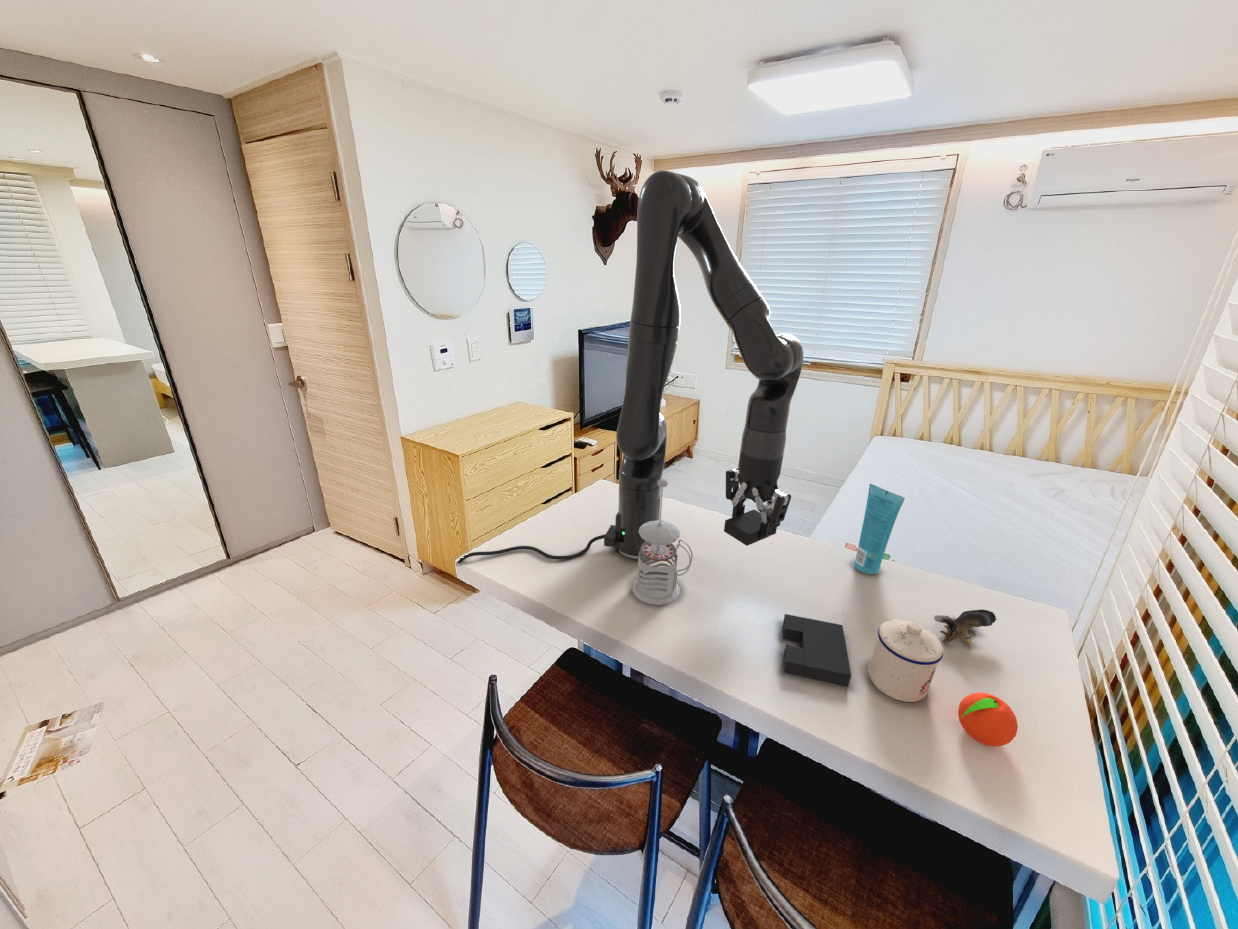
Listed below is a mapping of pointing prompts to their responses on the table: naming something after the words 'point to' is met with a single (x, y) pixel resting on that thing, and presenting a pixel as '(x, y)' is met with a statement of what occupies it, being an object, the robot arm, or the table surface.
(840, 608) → the table surface
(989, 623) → the eagle figurine
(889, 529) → the tube
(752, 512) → the small pad
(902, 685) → the teacup with lid
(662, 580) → the french press
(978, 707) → the clementine
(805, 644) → the large pad
